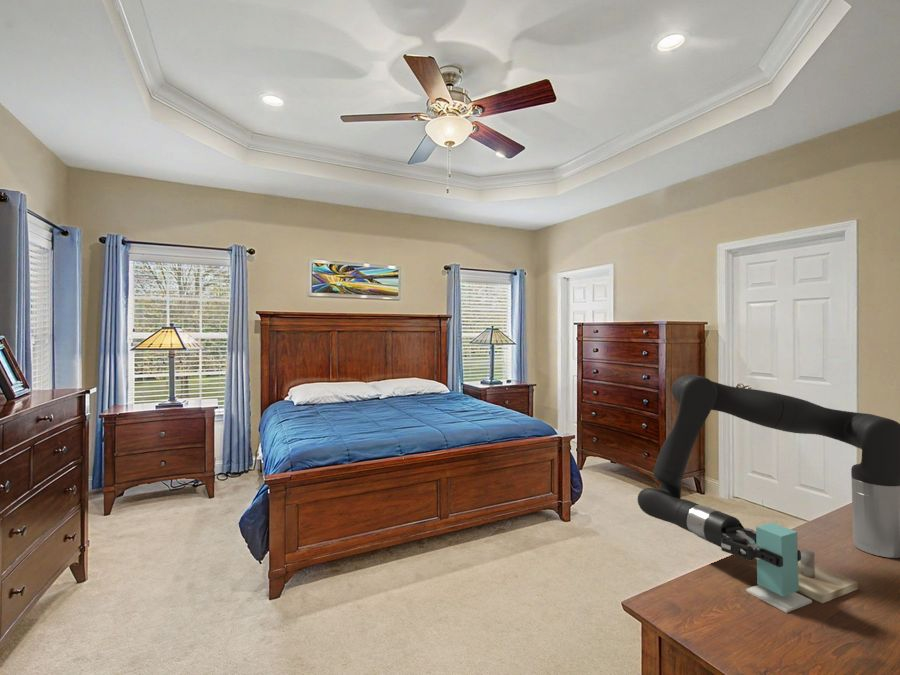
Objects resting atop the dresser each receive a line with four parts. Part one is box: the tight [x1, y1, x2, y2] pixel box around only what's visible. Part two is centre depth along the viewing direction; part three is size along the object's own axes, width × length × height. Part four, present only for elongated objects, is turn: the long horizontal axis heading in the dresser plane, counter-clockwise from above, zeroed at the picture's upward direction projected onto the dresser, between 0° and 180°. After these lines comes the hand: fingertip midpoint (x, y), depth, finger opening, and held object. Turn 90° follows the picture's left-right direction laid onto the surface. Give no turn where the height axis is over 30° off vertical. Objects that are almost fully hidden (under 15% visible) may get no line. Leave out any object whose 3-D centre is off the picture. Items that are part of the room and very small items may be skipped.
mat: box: [745, 584, 813, 614], centre depth 92 cm, size 8×8×1 cm
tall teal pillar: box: [755, 522, 799, 596], centre depth 92 cm, size 5×5×12 cm
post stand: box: [796, 548, 859, 604], centre depth 98 cm, size 12×12×6 cm
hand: (790, 559), depth 90 cm, fingers closed on tall teal pillar, 5 cm apart
